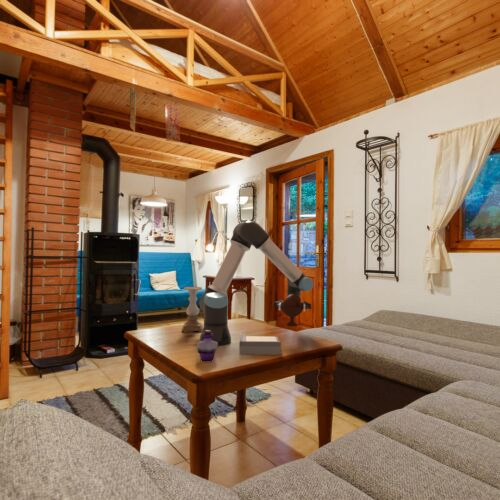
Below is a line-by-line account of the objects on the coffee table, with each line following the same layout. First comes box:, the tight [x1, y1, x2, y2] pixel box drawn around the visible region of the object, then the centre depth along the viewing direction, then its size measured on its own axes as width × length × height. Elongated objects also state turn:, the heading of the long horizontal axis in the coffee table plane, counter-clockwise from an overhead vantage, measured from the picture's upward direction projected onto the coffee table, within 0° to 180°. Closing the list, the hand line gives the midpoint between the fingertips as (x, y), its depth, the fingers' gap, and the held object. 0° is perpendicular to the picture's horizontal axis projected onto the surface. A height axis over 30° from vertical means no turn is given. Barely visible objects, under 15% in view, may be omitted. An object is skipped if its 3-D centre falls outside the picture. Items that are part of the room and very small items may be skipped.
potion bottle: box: [196, 330, 218, 362], centre depth 142 cm, size 9×9×12 cm
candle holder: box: [181, 286, 203, 333], centre depth 195 cm, size 11×11×24 cm
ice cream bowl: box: [281, 295, 304, 327], centre depth 169 cm, size 11×11×15 cm
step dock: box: [238, 331, 282, 356], centre depth 159 cm, size 18×18×6 cm
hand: (291, 308), depth 165 cm, fingers closed on ice cream bowl, 11 cm apart
